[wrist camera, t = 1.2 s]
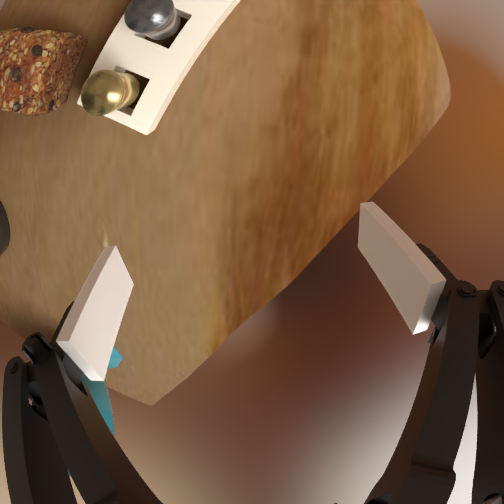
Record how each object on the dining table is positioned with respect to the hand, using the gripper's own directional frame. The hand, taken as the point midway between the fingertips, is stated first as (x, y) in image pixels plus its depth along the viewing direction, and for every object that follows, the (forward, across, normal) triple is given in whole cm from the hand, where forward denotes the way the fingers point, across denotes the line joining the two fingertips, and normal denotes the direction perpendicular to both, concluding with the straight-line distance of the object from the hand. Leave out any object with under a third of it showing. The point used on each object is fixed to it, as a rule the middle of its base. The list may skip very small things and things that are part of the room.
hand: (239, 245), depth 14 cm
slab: (+22, -5, +17) cm, 28 cm away
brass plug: (+18, -10, +10) cm, 23 cm away
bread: (+23, -25, +21) cm, 40 cm away
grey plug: (+18, -5, +17) cm, 25 cm away
